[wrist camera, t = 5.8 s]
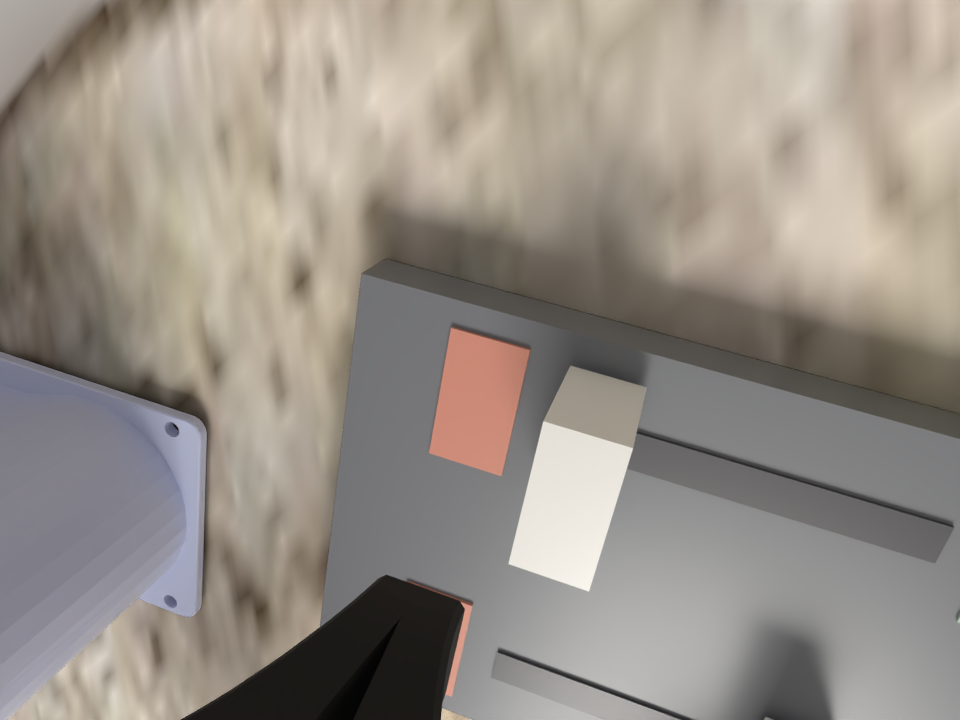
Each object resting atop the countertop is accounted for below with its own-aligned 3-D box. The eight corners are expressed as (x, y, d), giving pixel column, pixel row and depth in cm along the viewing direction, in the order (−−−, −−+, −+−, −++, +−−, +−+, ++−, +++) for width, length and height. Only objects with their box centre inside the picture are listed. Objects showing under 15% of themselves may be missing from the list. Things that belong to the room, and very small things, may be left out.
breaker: (538, 492, 19) (508, 564, 16) (570, 365, 18) (543, 421, 15) (607, 515, 19) (588, 591, 16) (646, 387, 17) (633, 448, 15)
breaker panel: (337, 627, 25) (314, 661, 24) (385, 258, 20) (360, 274, 19) (975, 867, 22) (993, 925, 20) (1249, 492, 16) (1300, 535, 15)
